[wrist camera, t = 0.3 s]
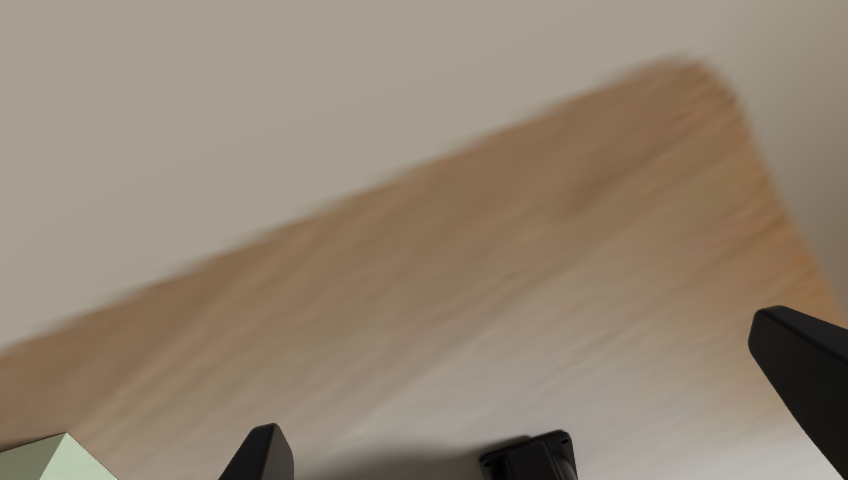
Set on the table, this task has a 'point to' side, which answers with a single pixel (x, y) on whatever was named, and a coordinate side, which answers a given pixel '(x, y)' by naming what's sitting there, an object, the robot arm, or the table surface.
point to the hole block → (51, 461)
